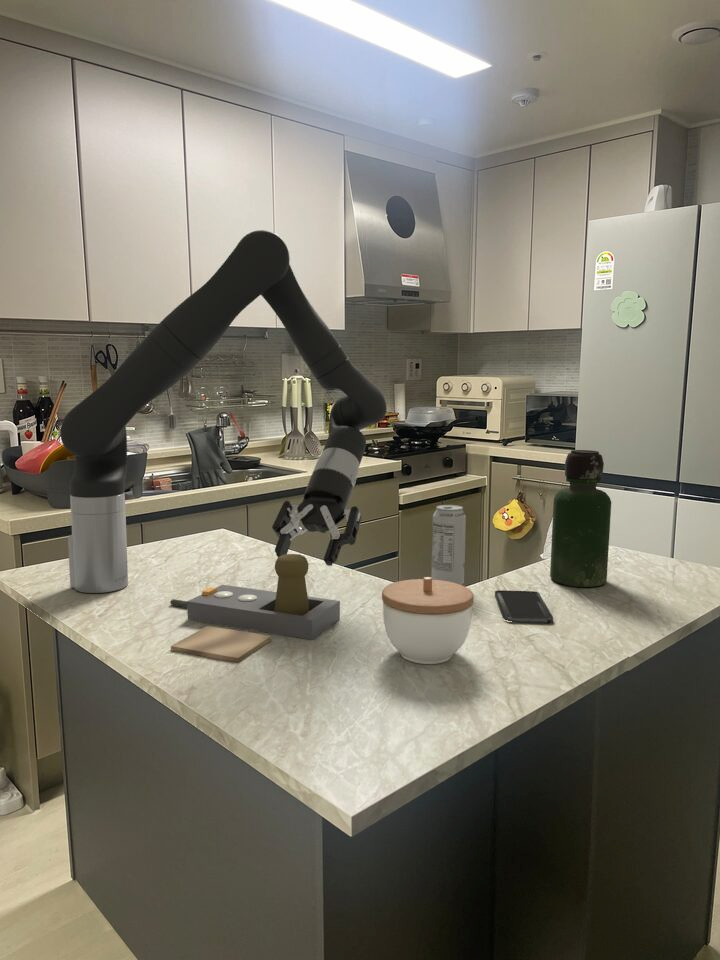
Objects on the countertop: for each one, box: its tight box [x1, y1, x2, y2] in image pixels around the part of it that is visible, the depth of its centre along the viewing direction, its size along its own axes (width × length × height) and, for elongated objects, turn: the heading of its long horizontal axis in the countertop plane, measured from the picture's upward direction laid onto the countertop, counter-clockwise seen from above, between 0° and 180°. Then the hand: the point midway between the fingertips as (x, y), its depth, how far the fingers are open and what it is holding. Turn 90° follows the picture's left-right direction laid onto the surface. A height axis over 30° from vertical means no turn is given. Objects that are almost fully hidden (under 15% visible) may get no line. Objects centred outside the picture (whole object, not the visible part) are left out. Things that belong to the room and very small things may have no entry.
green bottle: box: [549, 449, 612, 588], centre depth 135 cm, size 10×10×25 cm
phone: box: [494, 589, 554, 625], centre depth 120 cm, size 8×1×15 cm
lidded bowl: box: [381, 576, 475, 665], centre depth 99 cm, size 13×13×11 cm
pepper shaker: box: [274, 553, 310, 616], centre depth 110 cm, size 6×6×11 cm
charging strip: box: [169, 584, 341, 641], centre depth 114 cm, size 29×10×4 cm, turn 68°
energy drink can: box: [430, 504, 467, 586], centre depth 131 cm, size 6×6×15 cm
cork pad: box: [170, 625, 272, 663], centre depth 102 cm, size 11×9×1 cm
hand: (303, 560), depth 114 cm, fingers open, 8 cm apart
